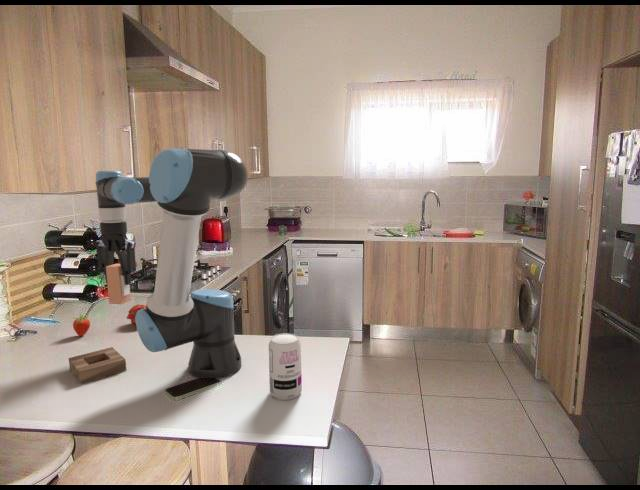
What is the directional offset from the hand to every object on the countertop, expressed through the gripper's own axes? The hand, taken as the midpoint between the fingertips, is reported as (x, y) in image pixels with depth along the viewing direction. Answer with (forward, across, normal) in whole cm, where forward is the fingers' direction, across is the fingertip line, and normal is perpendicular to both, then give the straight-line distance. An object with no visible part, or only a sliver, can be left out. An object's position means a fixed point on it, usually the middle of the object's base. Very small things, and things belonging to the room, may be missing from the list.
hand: (119, 293), depth 139 cm
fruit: (+19, +22, -7) cm, 30 cm away
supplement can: (+19, -61, +15) cm, 65 cm away
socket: (+19, -3, +15) cm, 24 cm away
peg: (+3, 0, 0) cm, 3 cm away
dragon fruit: (+19, +9, -22) cm, 30 cm away
